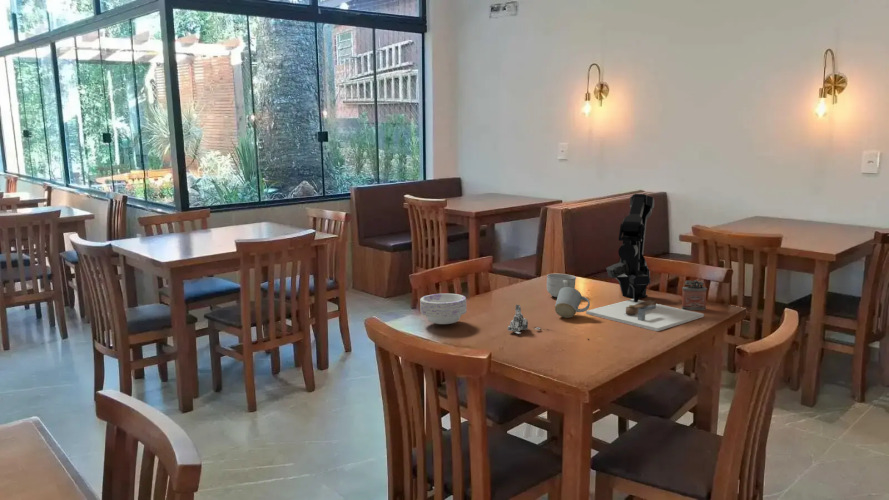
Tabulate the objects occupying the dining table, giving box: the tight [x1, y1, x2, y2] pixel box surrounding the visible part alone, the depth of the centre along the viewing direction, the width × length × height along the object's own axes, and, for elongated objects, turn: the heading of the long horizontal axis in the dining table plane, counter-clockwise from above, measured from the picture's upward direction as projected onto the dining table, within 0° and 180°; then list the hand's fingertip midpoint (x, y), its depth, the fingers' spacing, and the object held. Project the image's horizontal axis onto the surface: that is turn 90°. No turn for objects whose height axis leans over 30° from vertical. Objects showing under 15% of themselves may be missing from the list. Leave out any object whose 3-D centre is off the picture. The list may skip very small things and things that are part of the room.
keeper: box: [638, 305, 656, 321], centre depth 218 cm, size 2×7×4 cm, turn 128°
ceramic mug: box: [554, 287, 591, 319], centre depth 223 cm, size 11×8×8 cm
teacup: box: [546, 273, 577, 298], centre depth 252 cm, size 14×11×8 cm
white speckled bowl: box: [419, 293, 467, 325], centre depth 221 cm, size 15×15×8 cm
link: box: [626, 299, 657, 315], centre depth 226 cm, size 16×3×3 cm, turn 133°
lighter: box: [681, 279, 708, 311], centre depth 232 cm, size 8×3×10 cm, turn 84°
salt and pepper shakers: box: [522, 415, 545, 439], centre depth 305 cm, size 12×4×11 cm, turn 114°
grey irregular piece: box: [507, 304, 541, 334], centre depth 211 cm, size 9×9×8 cm
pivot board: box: [585, 298, 705, 332], centre depth 225 cm, size 28×26×1 cm
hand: (629, 299), depth 239 cm, fingers open, 9 cm apart
